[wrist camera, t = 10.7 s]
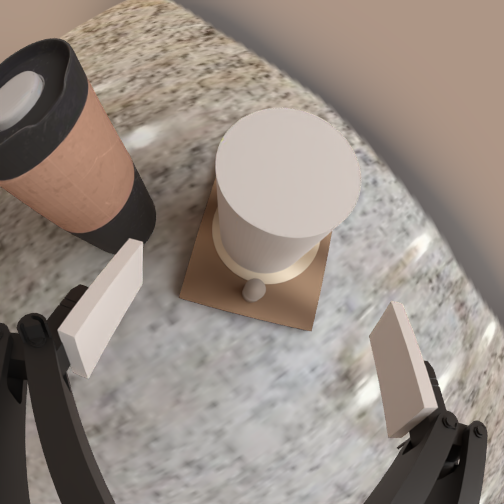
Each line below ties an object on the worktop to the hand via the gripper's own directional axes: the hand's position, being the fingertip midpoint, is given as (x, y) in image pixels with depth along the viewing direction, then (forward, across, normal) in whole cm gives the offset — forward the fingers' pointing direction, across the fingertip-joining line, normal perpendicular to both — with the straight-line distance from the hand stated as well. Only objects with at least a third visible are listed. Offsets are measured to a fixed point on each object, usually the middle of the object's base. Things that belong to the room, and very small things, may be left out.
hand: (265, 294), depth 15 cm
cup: (+13, 0, -3) cm, 13 cm away
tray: (+14, 0, -4) cm, 14 cm away
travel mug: (+13, -14, -6) cm, 20 cm away
